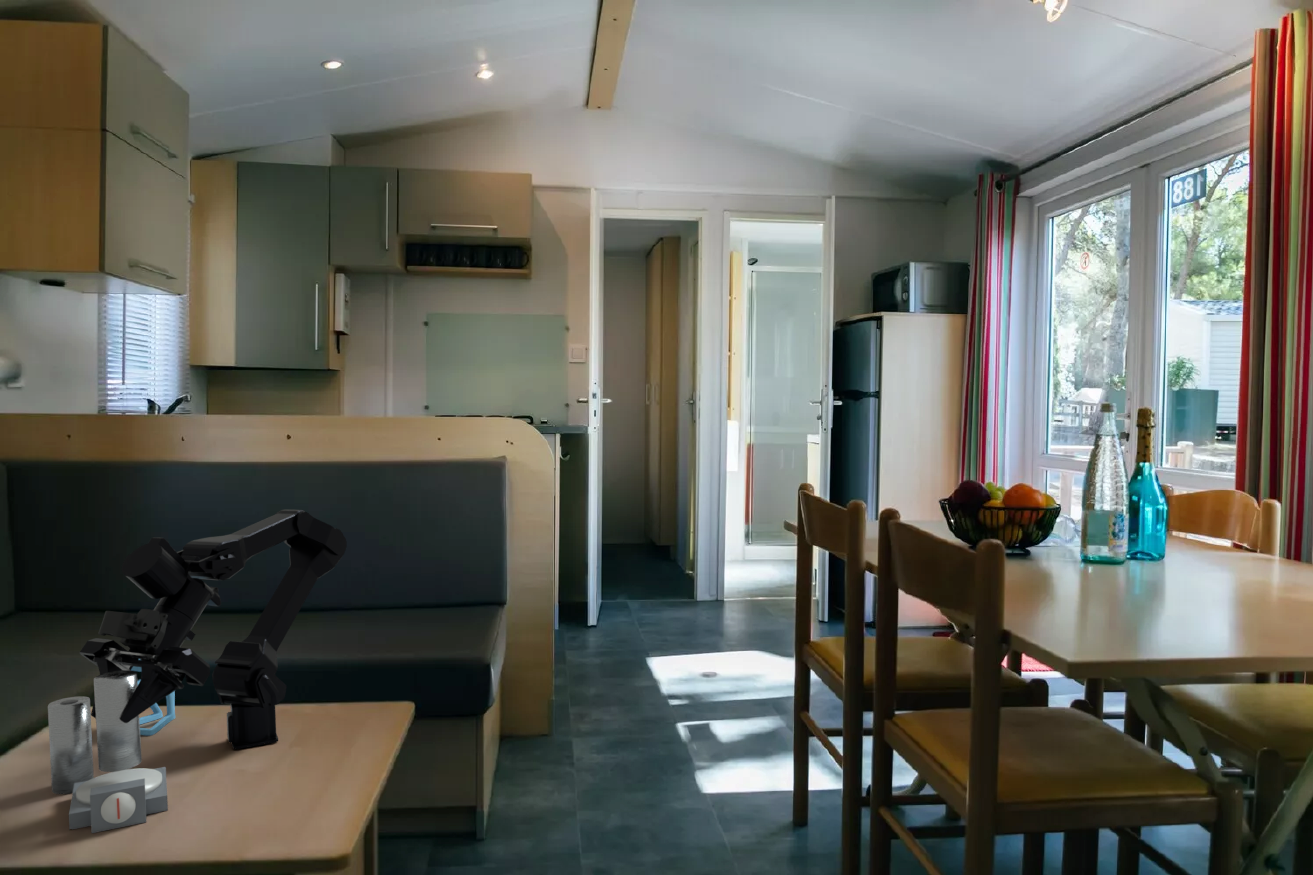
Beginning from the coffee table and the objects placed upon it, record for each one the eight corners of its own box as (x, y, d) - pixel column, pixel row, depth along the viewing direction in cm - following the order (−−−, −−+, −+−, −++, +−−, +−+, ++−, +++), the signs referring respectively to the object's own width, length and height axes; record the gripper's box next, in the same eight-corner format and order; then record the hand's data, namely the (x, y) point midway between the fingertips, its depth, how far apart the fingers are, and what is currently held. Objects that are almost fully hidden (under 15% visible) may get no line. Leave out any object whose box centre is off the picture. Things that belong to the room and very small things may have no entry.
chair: (187, 718, 160) (185, 648, 159) (150, 735, 151) (148, 661, 151) (148, 716, 161) (146, 646, 161) (110, 732, 153) (107, 659, 153)
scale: (166, 780, 134) (164, 747, 133) (168, 818, 121) (166, 782, 121) (75, 797, 128) (73, 762, 128) (67, 839, 116) (66, 801, 116)
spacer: (94, 776, 135) (90, 693, 135) (93, 789, 131) (89, 703, 130) (53, 783, 133) (49, 700, 132) (50, 797, 129) (46, 710, 128)
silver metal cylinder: (149, 756, 128) (144, 669, 128) (127, 771, 123) (122, 681, 123) (113, 756, 129) (108, 670, 128) (90, 772, 124) (85, 681, 123)
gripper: (88, 581, 132) (14, 683, 122) (188, 589, 125) (118, 698, 115) (140, 623, 139) (75, 721, 130) (237, 633, 133) (175, 737, 123)
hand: (108, 719), depth 124 cm, fingers closed on silver metal cylinder, 5 cm apart
